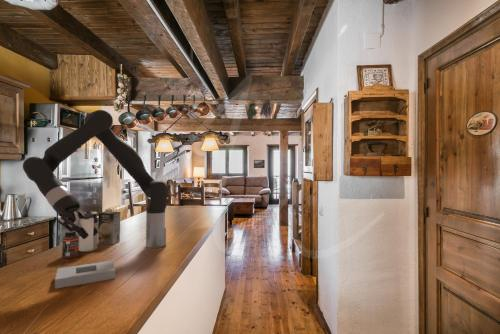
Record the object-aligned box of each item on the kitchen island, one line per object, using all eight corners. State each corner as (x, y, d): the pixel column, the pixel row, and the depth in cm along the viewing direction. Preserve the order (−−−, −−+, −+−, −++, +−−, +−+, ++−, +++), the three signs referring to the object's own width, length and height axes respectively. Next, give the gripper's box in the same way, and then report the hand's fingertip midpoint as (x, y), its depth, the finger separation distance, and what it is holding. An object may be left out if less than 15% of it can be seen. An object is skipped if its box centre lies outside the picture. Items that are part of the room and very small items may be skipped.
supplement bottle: (70, 259, 123) (70, 233, 123) (58, 258, 124) (59, 232, 124) (81, 255, 129) (81, 230, 129) (69, 254, 130) (70, 229, 130)
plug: (85, 247, 105) (86, 212, 105) (95, 248, 105) (96, 212, 105) (76, 250, 101) (76, 214, 101) (87, 251, 100) (87, 214, 100)
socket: (112, 268, 113) (112, 260, 113) (115, 278, 102) (115, 270, 102) (57, 276, 103) (57, 268, 103) (54, 288, 93) (55, 279, 93)
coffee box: (97, 243, 149) (97, 212, 149) (105, 240, 155) (105, 211, 156) (112, 244, 148) (113, 213, 148) (120, 241, 154) (121, 211, 154)
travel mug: (94, 246, 143) (94, 211, 143) (99, 250, 137) (99, 212, 137) (76, 249, 137) (76, 212, 137) (80, 253, 131) (81, 214, 131)
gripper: (52, 196, 97) (83, 233, 95) (83, 192, 111) (111, 225, 109) (39, 210, 98) (69, 248, 96) (71, 205, 112) (98, 238, 110)
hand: (91, 235), depth 103 cm, fingers closed on plug, 4 cm apart
